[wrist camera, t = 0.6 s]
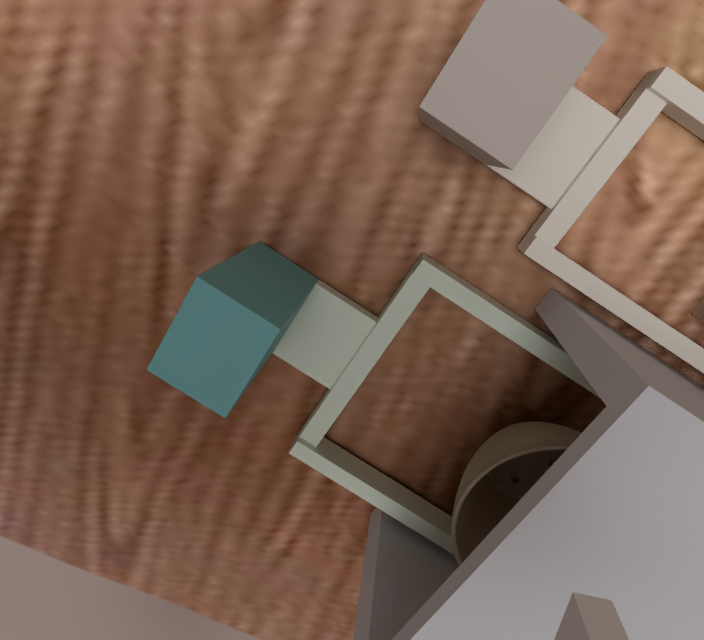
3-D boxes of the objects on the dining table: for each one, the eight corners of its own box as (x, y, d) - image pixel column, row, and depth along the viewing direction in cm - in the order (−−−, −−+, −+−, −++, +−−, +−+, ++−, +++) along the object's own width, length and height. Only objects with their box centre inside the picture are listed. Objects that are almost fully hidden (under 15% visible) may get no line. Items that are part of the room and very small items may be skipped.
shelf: (370, 514, 35) (344, 710, 23) (552, 287, 29) (648, 385, 17) (519, 606, 36) (572, 843, 24) (726, 402, 30) (939, 576, 18)
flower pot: (620, 517, 33) (672, 612, 26) (458, 534, 35) (468, 626, 28) (606, 370, 30) (660, 433, 24) (431, 396, 32) (435, 462, 25)
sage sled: (186, 368, 33) (106, 443, 25) (299, 171, 29) (248, 179, 20) (554, 596, 35) (598, 739, 26) (713, 443, 31) (827, 556, 22)
